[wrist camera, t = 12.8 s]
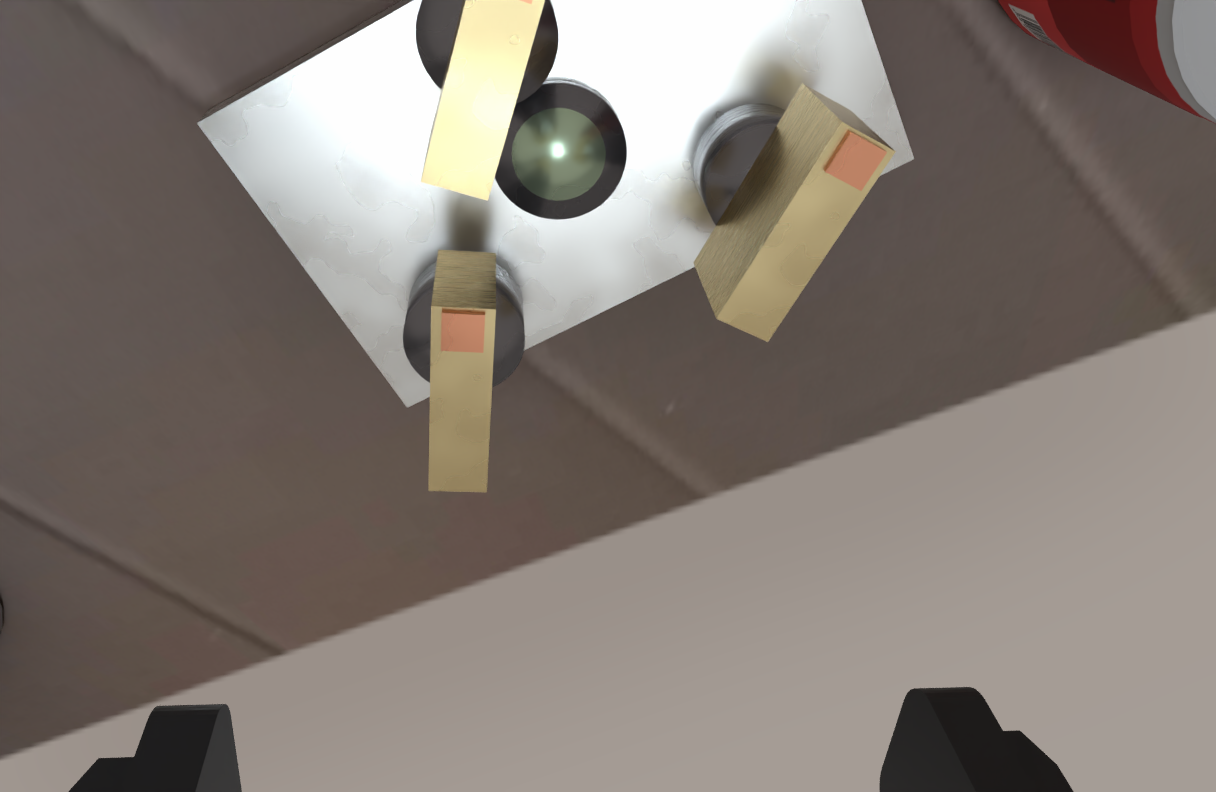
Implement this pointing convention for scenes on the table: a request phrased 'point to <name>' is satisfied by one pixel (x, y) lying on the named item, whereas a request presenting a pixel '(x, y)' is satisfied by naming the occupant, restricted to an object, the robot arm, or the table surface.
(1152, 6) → the canned food
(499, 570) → the table surface
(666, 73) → the level plate
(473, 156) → the yellow paddle knob
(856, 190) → the knob
